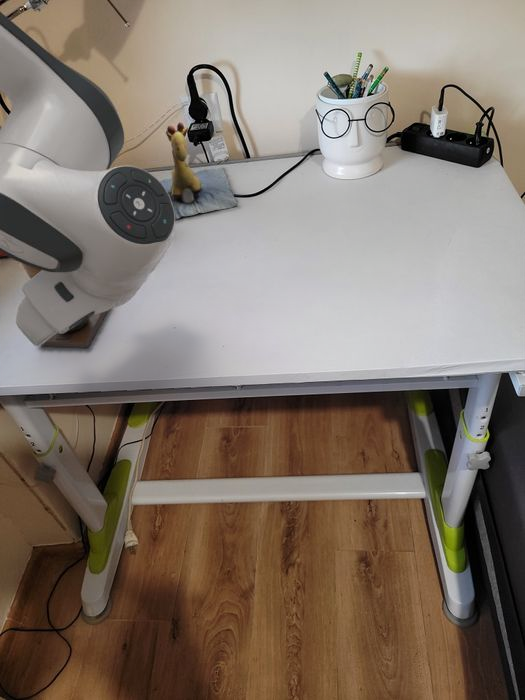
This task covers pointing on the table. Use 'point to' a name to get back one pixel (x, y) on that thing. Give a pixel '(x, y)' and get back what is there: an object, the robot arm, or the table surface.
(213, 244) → the table surface
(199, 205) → the stuffed giraffe
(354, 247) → the table surface
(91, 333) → the track board
